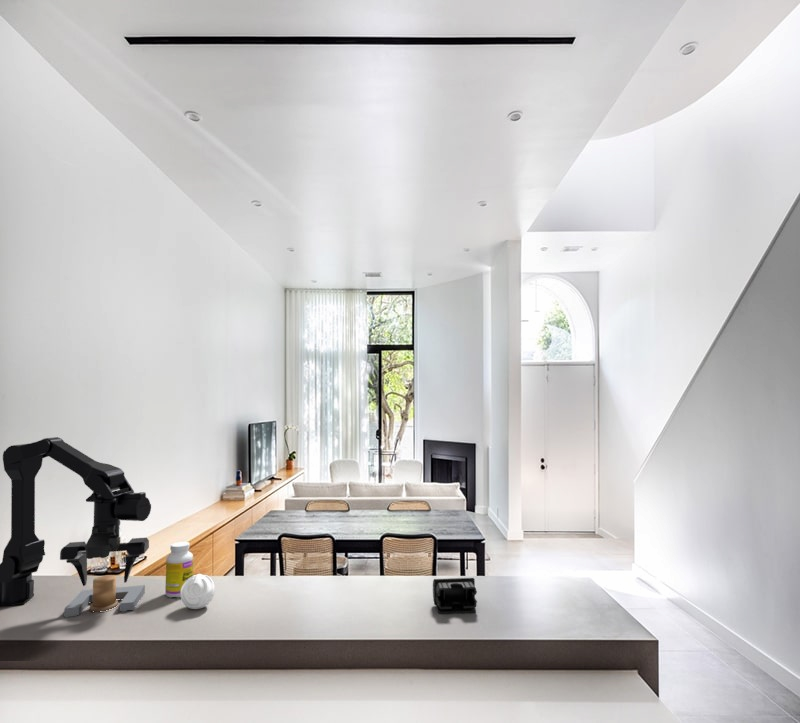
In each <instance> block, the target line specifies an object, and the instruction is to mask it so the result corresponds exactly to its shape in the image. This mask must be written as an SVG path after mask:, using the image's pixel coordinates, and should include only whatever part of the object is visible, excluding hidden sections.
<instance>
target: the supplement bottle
mask: <svg viewBox="0 0 800 723" xmlns="http://www.w3.org/2000/svg"><path fill="white" fill-rule="evenodd" d="M190 545H191V544H190V542H188V541H177V542H173V543H171V544H170V553H169V554H168V555H167V556H166V560H165V589H164V590H165V592H164V593H165V595H166V597H167V598H172V597H178V598H181V597H180V591H181V587H182V585H183V584H184V583H185V581H186V580H187V579H189V578H190V577H192V576H194V555H193V553H192V552H191V551H189V550H190Z"/></svg>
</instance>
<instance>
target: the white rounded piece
mask: <svg viewBox="0 0 800 723" xmlns="http://www.w3.org/2000/svg"><path fill="white" fill-rule="evenodd" d="M214 595H215V582H214V581H213V579H212V578H211V577H210V576H209V575H207V574H202V573H197V574H193V576H192V577H190V578H189V579H187V580H186V581H185V583H184V584H183V585H182V587H181V591H180V597H179V598H180V600H181V602H182V603H183V605H184V606H185V607H187V608H188V609H191V610H200V609H202V608H205V607H206V606H207V605H208V604H210V603H211V602H212V601H213V598H214Z"/></svg>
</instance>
